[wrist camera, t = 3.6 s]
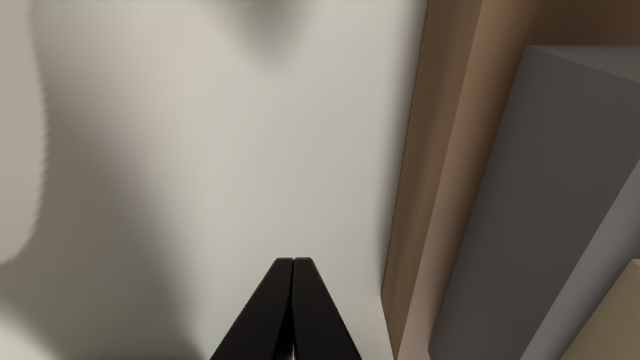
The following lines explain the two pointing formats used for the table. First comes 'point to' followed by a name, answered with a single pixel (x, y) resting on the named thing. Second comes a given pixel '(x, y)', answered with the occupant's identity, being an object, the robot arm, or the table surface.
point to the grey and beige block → (555, 218)
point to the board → (467, 136)
